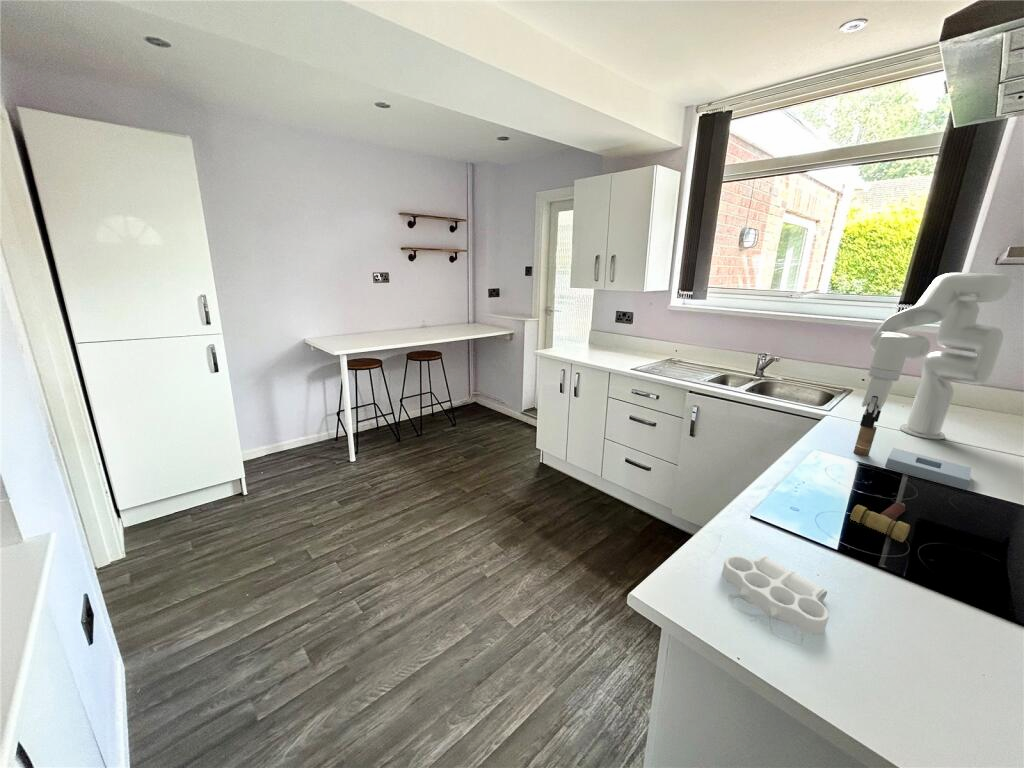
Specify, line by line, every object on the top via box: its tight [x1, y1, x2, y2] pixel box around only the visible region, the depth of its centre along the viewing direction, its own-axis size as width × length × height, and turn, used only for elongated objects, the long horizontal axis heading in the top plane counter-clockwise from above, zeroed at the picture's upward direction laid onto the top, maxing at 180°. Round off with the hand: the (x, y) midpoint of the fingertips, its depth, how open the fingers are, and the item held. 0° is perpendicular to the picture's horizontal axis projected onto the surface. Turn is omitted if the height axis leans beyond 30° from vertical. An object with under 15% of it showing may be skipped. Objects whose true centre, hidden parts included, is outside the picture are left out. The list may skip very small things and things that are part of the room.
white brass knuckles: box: [721, 554, 830, 635], centre depth 80 cm, size 3×18×15 cm
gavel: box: [849, 502, 911, 543], centre depth 106 cm, size 21×5×10 cm
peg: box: [853, 425, 878, 457], centre depth 141 cm, size 4×4×10 cm
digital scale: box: [885, 447, 972, 491], centre depth 131 cm, size 12×18×3 cm, turn 43°
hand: (868, 423), depth 139 cm, fingers open, 9 cm apart
